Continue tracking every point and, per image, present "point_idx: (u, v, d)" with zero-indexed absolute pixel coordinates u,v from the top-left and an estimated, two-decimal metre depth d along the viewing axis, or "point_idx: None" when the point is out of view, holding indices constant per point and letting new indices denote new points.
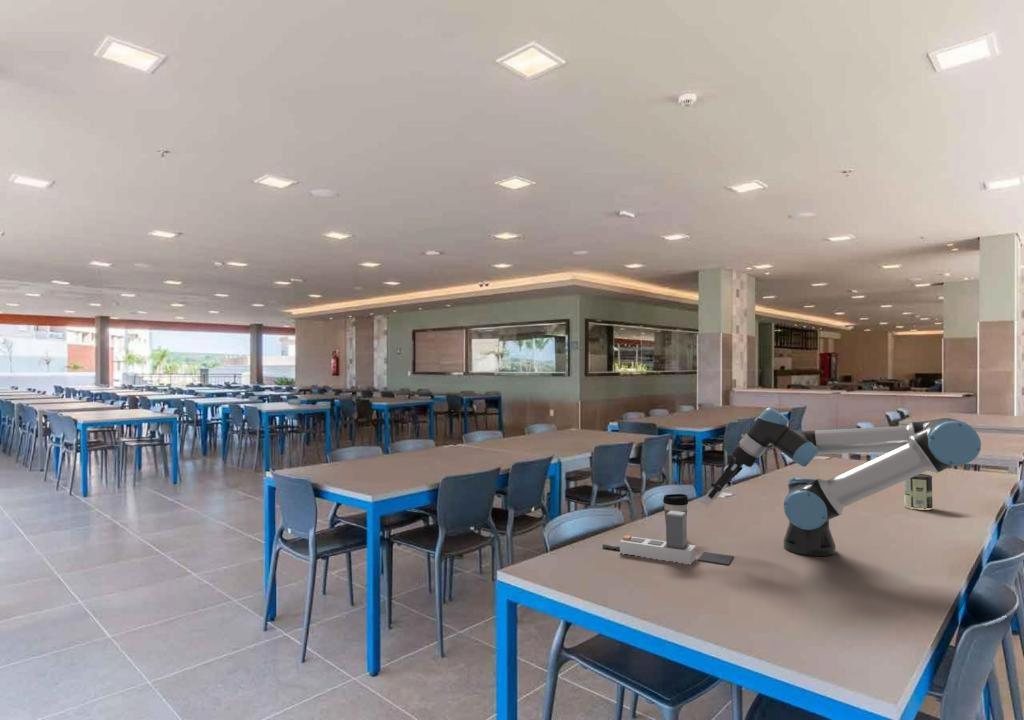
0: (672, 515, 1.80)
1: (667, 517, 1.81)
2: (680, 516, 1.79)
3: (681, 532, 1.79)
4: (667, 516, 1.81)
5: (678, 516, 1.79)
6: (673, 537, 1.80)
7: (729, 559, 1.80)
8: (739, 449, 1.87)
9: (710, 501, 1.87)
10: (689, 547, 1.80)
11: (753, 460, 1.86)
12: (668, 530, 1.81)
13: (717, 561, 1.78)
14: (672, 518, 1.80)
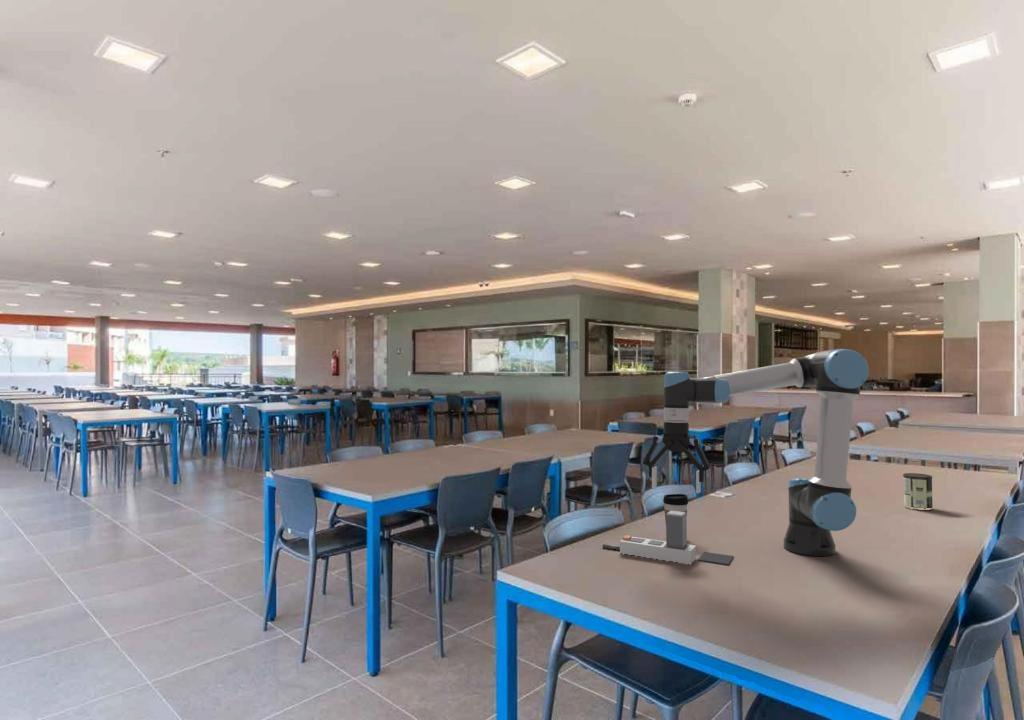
0: (672, 515, 1.80)
1: (667, 517, 1.81)
2: (680, 516, 1.79)
3: (681, 532, 1.79)
4: (667, 516, 1.81)
5: (678, 516, 1.79)
6: (673, 537, 1.80)
7: (729, 559, 1.80)
8: (684, 425, 1.80)
9: (700, 484, 1.80)
10: (689, 547, 1.80)
11: None
12: (668, 530, 1.81)
13: (717, 561, 1.78)
14: (672, 518, 1.80)
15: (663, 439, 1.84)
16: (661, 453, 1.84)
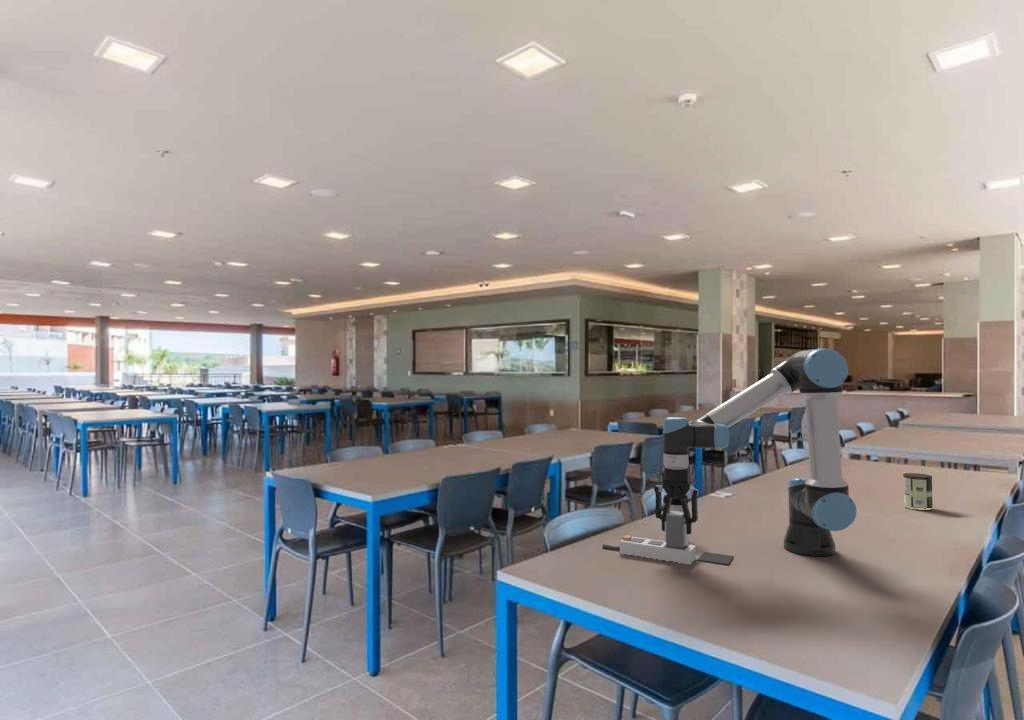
0: (672, 515, 1.80)
1: (667, 517, 1.81)
2: (680, 516, 1.79)
3: (681, 532, 1.79)
4: (667, 516, 1.81)
5: (678, 516, 1.79)
6: (673, 537, 1.80)
7: (729, 559, 1.80)
8: (684, 471, 1.79)
9: (687, 536, 1.81)
10: (689, 547, 1.80)
11: None
12: (668, 530, 1.81)
13: (717, 561, 1.78)
14: (672, 518, 1.80)
15: (663, 485, 1.83)
16: (667, 503, 1.82)
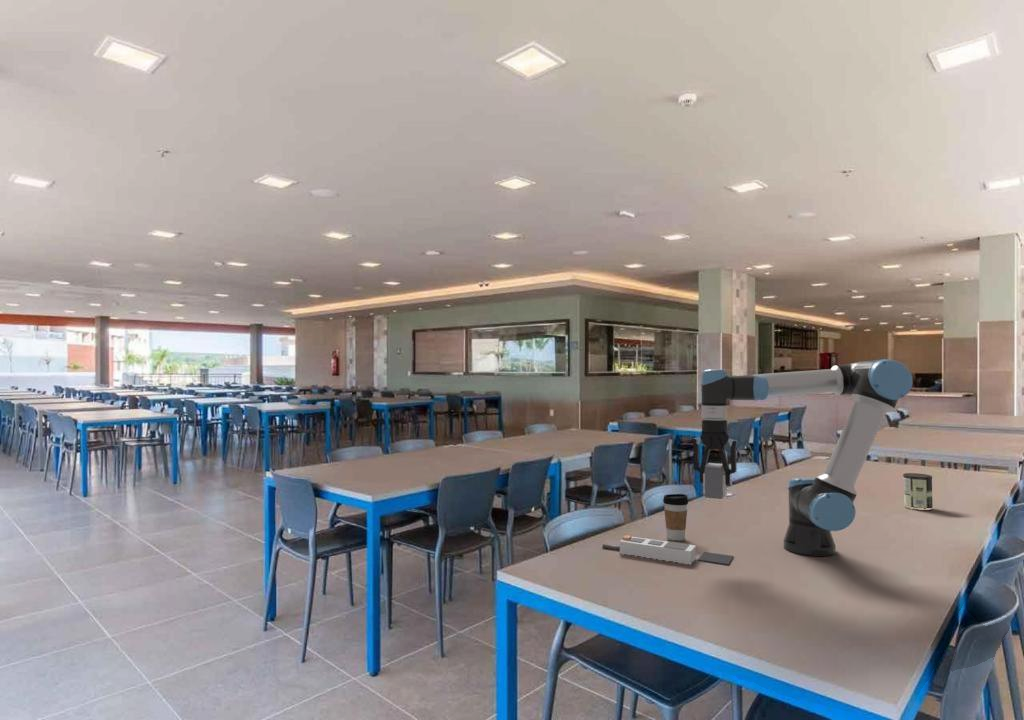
0: (711, 466, 1.81)
1: (706, 468, 1.81)
2: (719, 467, 1.79)
3: (720, 483, 1.79)
4: (706, 467, 1.81)
5: (717, 467, 1.80)
6: (712, 488, 1.80)
7: (729, 559, 1.80)
8: (723, 422, 1.79)
9: (726, 487, 1.81)
10: (689, 547, 1.80)
11: None
12: (707, 482, 1.81)
13: (717, 561, 1.78)
14: (711, 469, 1.81)
15: (701, 437, 1.84)
16: (706, 454, 1.83)
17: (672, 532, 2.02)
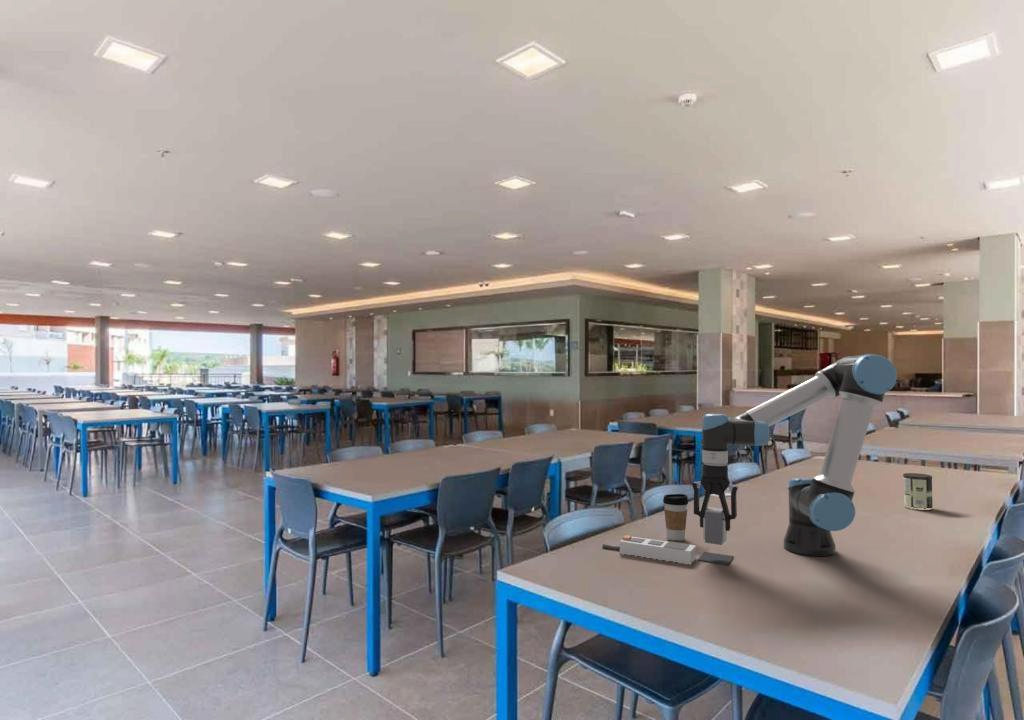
0: (711, 511, 1.80)
1: (706, 513, 1.81)
2: (719, 512, 1.79)
3: (720, 528, 1.79)
4: (706, 512, 1.81)
5: (717, 512, 1.79)
6: (712, 534, 1.80)
7: (729, 559, 1.80)
8: (723, 468, 1.79)
9: (726, 533, 1.81)
10: (689, 547, 1.80)
11: None
12: (707, 527, 1.81)
13: (717, 561, 1.78)
14: (711, 514, 1.80)
15: (702, 481, 1.83)
16: (706, 499, 1.82)
17: (672, 532, 2.02)
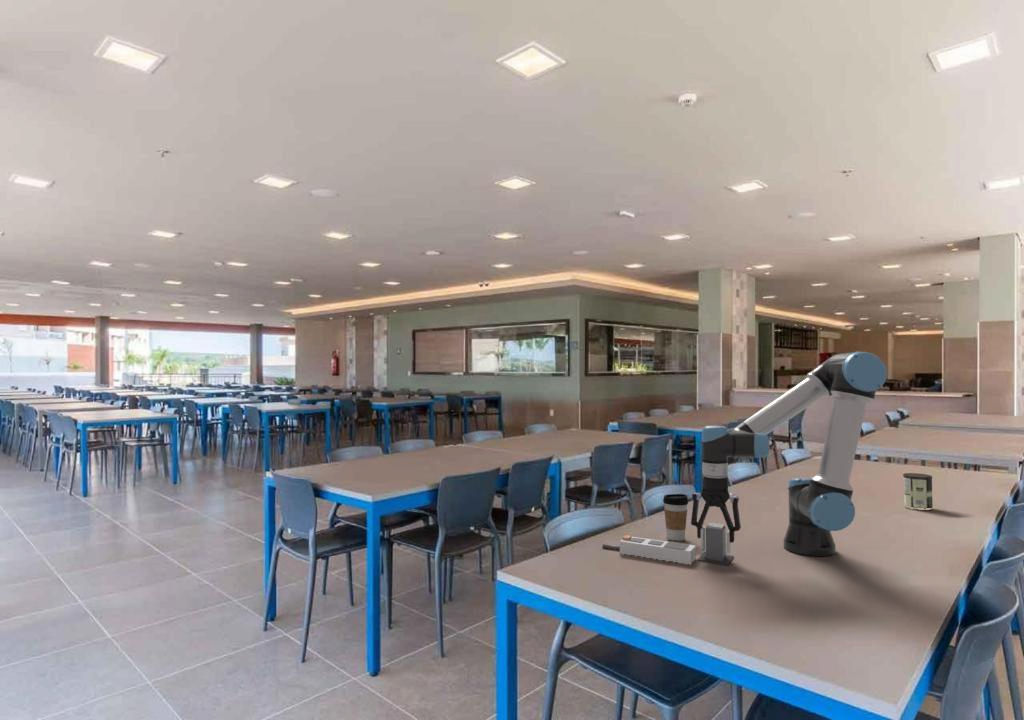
0: (712, 527, 1.80)
1: (707, 529, 1.81)
2: (720, 529, 1.79)
3: (721, 545, 1.79)
4: (707, 528, 1.81)
5: (718, 528, 1.79)
6: (713, 550, 1.80)
7: (729, 559, 1.80)
8: (724, 480, 1.79)
9: (730, 544, 1.81)
10: (689, 547, 1.80)
11: None
12: (708, 543, 1.81)
13: (717, 561, 1.78)
14: (712, 530, 1.80)
15: (702, 494, 1.83)
16: (705, 511, 1.82)
17: (672, 532, 2.02)
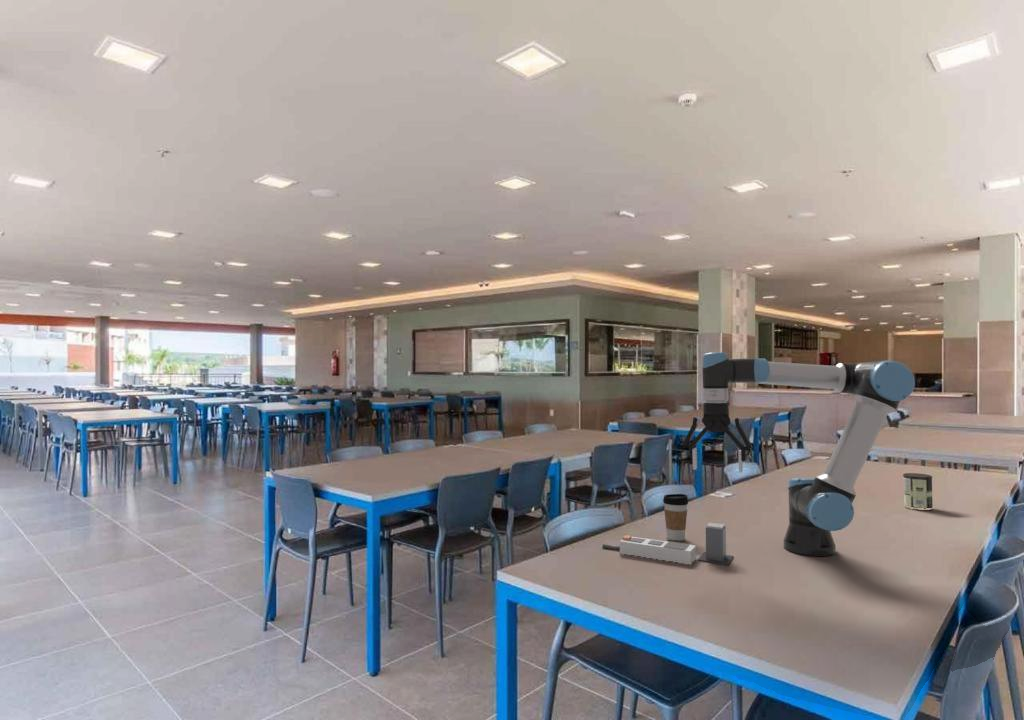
0: (712, 527, 1.80)
1: (707, 529, 1.81)
2: (720, 529, 1.79)
3: (721, 545, 1.79)
4: (707, 528, 1.81)
5: (718, 528, 1.79)
6: (713, 550, 1.80)
7: (729, 559, 1.80)
8: (725, 405, 1.80)
9: (742, 464, 1.80)
10: (689, 547, 1.80)
11: None
12: (708, 543, 1.81)
13: (717, 561, 1.78)
14: (712, 530, 1.80)
15: (703, 420, 1.84)
16: (701, 434, 1.84)
17: (672, 532, 2.02)
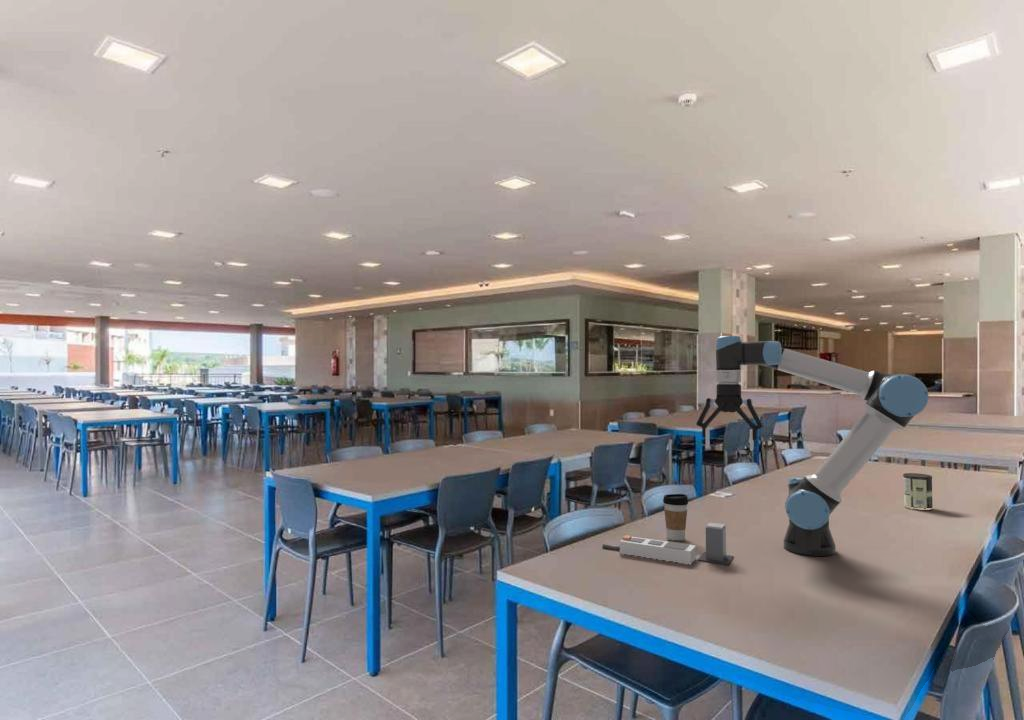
0: (712, 527, 1.80)
1: (707, 529, 1.81)
2: (720, 529, 1.79)
3: (721, 545, 1.79)
4: (707, 528, 1.81)
5: (718, 528, 1.79)
6: (713, 550, 1.80)
7: (729, 559, 1.80)
8: (737, 386, 1.88)
9: (753, 443, 1.88)
10: (689, 547, 1.80)
11: None
12: (708, 543, 1.81)
13: (717, 561, 1.78)
14: (712, 530, 1.80)
15: (716, 401, 1.92)
16: (714, 414, 1.92)
17: (672, 532, 2.02)
